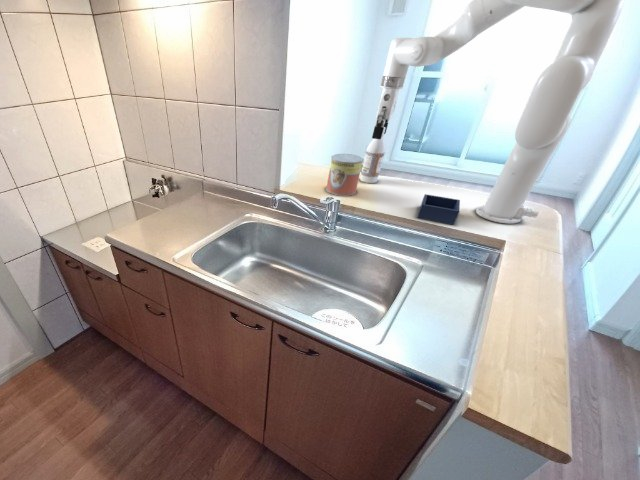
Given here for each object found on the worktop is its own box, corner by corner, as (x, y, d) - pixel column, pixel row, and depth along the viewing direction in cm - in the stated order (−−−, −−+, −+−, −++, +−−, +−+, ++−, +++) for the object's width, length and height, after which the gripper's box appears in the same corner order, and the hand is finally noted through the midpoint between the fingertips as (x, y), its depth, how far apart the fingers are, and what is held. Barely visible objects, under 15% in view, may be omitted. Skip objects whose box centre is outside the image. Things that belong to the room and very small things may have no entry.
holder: (454, 212, 109) (459, 199, 106) (453, 224, 102) (459, 211, 99) (420, 206, 113) (424, 194, 110) (417, 217, 106) (422, 204, 103)
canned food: (320, 190, 125) (325, 158, 117) (334, 183, 132) (340, 152, 124) (347, 198, 119) (354, 164, 112) (360, 190, 126) (368, 157, 118)
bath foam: (371, 184, 131) (385, 130, 118) (356, 180, 134) (368, 127, 122) (380, 180, 134) (394, 127, 122) (364, 176, 138) (377, 124, 126)
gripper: (400, 85, 106) (385, 142, 117) (406, 81, 118) (392, 133, 129) (376, 84, 109) (363, 139, 119) (385, 80, 120) (373, 130, 131)
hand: (378, 136), depth 124 cm, fingers open, 9 cm apart
